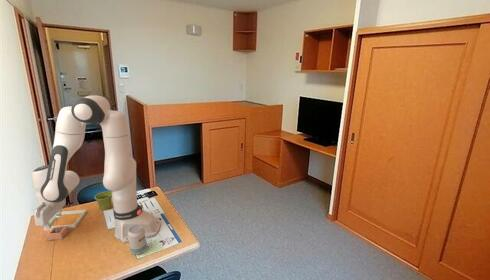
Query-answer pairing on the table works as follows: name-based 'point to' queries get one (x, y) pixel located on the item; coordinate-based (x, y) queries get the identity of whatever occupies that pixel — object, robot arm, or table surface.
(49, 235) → the orange frame with handle
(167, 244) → the table surface
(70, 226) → the tray
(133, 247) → the beverage can
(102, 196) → the plant pot
